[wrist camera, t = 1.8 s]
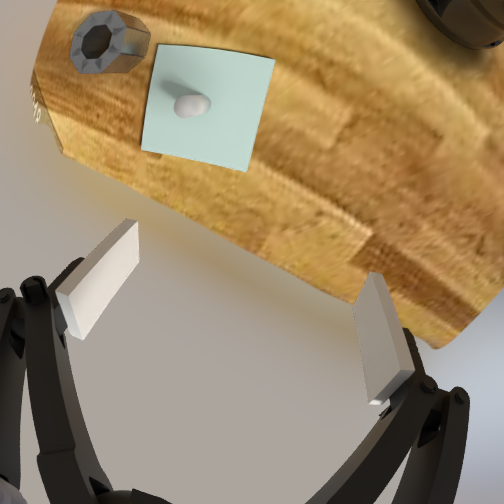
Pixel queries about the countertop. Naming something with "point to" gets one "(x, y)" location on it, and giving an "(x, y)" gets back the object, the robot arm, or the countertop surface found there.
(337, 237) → the countertop surface
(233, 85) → the post block
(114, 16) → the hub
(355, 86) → the countertop surface
